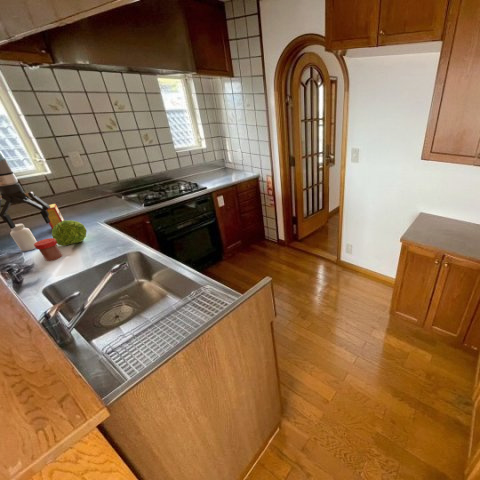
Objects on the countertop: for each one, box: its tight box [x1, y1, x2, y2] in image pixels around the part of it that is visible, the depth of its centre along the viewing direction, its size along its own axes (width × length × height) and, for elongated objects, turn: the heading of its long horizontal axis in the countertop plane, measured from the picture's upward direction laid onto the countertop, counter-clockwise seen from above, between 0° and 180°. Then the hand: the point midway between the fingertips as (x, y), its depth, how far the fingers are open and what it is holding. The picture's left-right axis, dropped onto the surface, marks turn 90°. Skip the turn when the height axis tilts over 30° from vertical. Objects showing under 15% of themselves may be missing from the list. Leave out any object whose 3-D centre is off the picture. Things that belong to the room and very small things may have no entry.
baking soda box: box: [47, 203, 65, 230], centre depth 179 cm, size 10×6×16 cm
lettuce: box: [51, 219, 88, 247], centre depth 160 cm, size 15×25×16 cm
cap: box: [34, 237, 58, 250], centre depth 138 cm, size 8×8×2 cm
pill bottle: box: [9, 223, 38, 252], centre depth 153 cm, size 8×8×15 cm
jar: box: [38, 244, 64, 262], centre depth 140 cm, size 7×7×11 cm
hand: (31, 225), depth 133 cm, fingers open, 13 cm apart
